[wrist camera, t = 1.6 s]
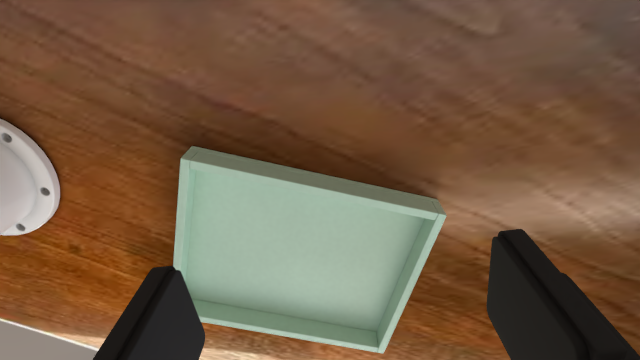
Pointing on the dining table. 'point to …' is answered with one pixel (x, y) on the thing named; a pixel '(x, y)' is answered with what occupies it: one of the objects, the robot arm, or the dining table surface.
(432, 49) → the dining table surface
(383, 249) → the tray
